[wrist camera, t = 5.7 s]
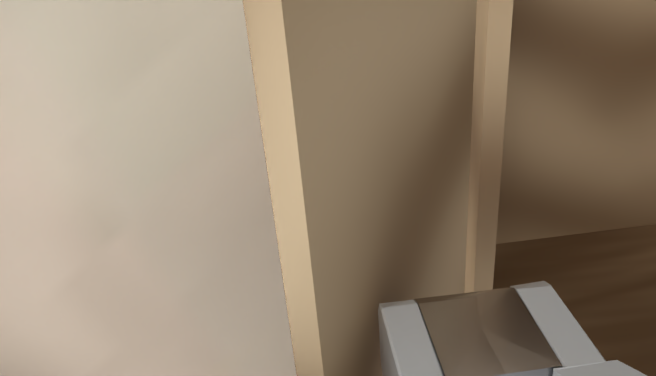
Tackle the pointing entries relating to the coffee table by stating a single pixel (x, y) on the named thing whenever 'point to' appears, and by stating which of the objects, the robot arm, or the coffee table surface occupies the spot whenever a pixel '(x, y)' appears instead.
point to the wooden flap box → (568, 163)
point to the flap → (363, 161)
